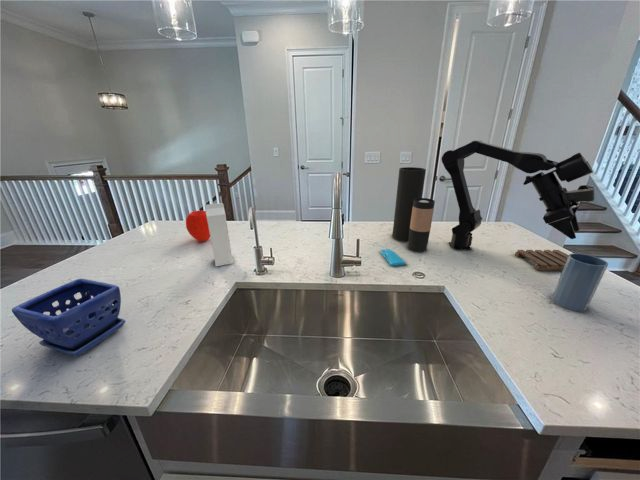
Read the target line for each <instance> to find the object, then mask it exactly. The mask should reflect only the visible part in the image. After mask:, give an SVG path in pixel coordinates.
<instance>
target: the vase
mask: <svg viewBox="0 0 640 480" xmlns="http://www.w3.org/2000/svg"><path fill="white" fill-rule="evenodd" d="M426 171H427V169H426V168H423V167H417V166H416V167H415V166H414V167H413V166H412V167H411V166H406V167H405V166H404V167H400V168H399V169H398V178H397V190H396V198H395V207H394V217H393V224H392V235H391V236H392V238H393V239H394V240H396V241H399V242H404V243H405V242H406V243H408V240H409V230H410V222H411V215H412V208H413V201H414V199H416V198H423V194H424V193H423V192H424V187H425V178H426Z"/></svg>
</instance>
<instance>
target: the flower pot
mask: <svg viewBox="0 0 640 480" xmlns="http://www.w3.org/2000/svg"><path fill="white" fill-rule="evenodd" d="M77 294H80V296H81V297H79V298H76V297H75V295H77ZM67 301H69V303H67ZM55 302H57V303H58V304H57V305H56V306H54V305H53V304H54V303H55ZM121 304H122V295H121V289H120V287H119V286H118V285H116V284H112V283H109V282H103V281H99V280H94V279H93V280H92V279H87V278H77V279H75V280H72V281H70V282H67V283H65V284H62V285H60V286H58V287H55V288H53V289H51V290H49V291H46V292H43V293H42V294H39V295H38V296H37V295H36V296H35V297H33V298H31V299H28V300H26V301H24V302H22V303H20V304H18V305H15V306H14V307H12V309H11V312H12V314H13V316H15V318H16V319H17V320H18V321H19V323H20V324H21V325H22V326H23V327H24V328H25V329H26V330H28V331H29V332H30V333H31V334H33V335H35V336H36V337H38V338H40V339H41V340H40V341H39V343H38V344H39V345H41V346H43V347H46V348H49V349H52V350H54V351H57V352H60V353H63V354H67V355H69V356H75V357H80V356H82V355H83V354H85V353H86V352H88V351H89V350H91V349H92V348H94V347H95V346H97V345H98V344H100V343H101V342H103V341H104V340H105V339H108V338H109V337H110V336H111V335H113V334H115V333H116V332H117V331H119V330H120V329H121V328H122V327H123V326H124V324H125V323H126V319H124V318H122V317H121V318H120V317H119V315H120V312H121ZM58 311H60V313H59V314H57V312H58ZM47 313H49V314H47Z"/></svg>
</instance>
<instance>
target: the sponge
mask: <svg viewBox="0 0 640 480" xmlns="http://www.w3.org/2000/svg"><path fill="white" fill-rule="evenodd" d="M380 254H381V255H382V256H383V258H384V259H385V260H386V261H387V263H388V265H389V266H392V267H393V266H394V267H395V266H405V265H406V262H405V260H403V259H402V258H401V256H399V255H398V254H397V253H396V252H395V251H394V250H391V249H390V248H386V249H381V250H380Z"/></svg>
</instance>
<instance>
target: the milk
mask: <svg viewBox="0 0 640 480" xmlns="http://www.w3.org/2000/svg"><path fill="white" fill-rule="evenodd" d="M204 209H205V210H204V211H206V216H207V221H208V227H209V232H210V244H211V248H212V253H213V258H214V263H215V264H214V265H215V267H221V266H226V265H232V264H234V260H233V253H232V247H231V242H230V241H231V240H230V236H229V228H228V222H227V215H226V210H225V205H224V203H223V202H219V203H207V204H205V205H204Z"/></svg>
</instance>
